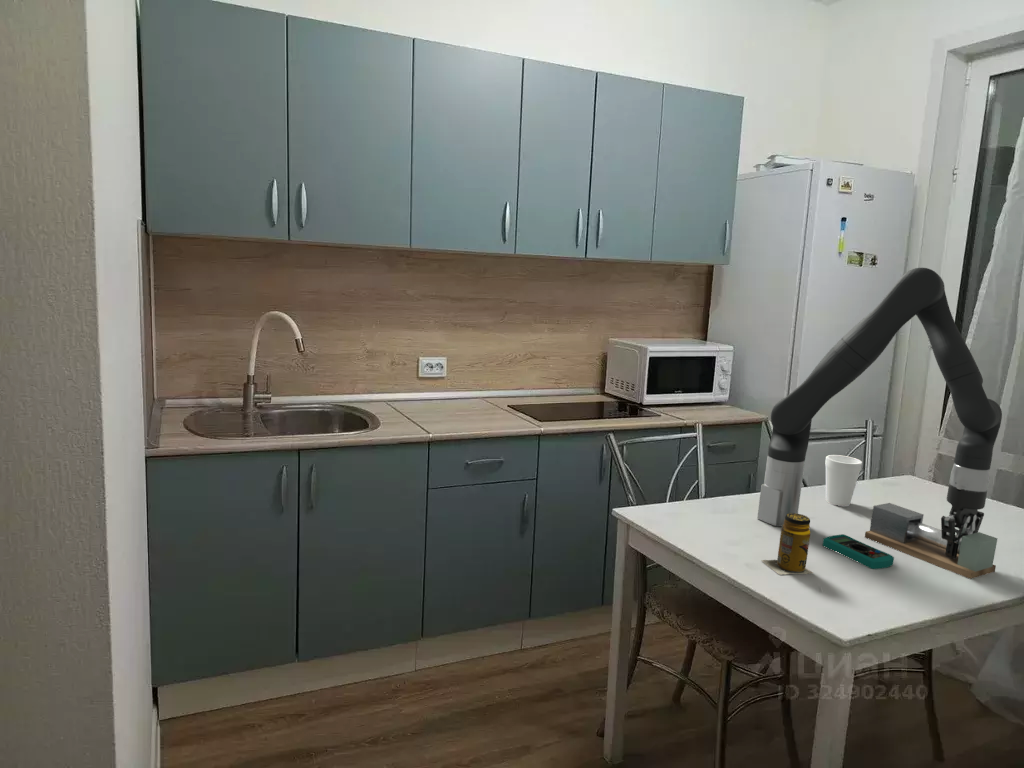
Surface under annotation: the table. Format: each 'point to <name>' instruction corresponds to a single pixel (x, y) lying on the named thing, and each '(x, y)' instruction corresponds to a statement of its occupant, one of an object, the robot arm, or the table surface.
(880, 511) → the sleeve
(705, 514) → the table surface
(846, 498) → the foam cup
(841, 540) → the digital multimeter
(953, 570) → the board
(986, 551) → the socket
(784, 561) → the condiment
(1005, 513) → the table surface
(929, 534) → the tube
